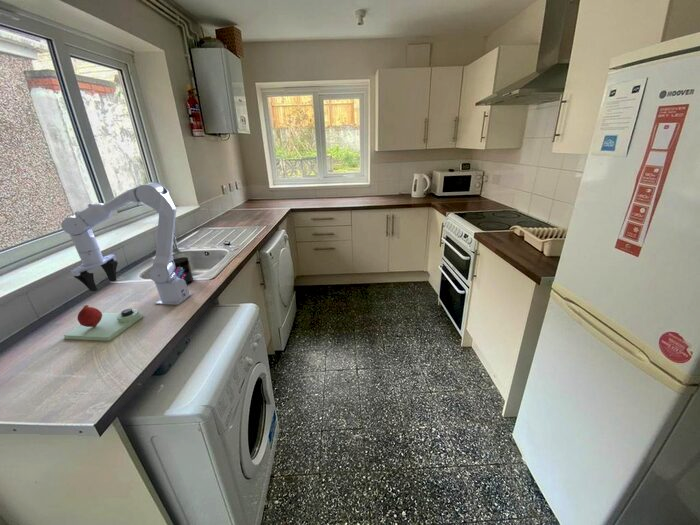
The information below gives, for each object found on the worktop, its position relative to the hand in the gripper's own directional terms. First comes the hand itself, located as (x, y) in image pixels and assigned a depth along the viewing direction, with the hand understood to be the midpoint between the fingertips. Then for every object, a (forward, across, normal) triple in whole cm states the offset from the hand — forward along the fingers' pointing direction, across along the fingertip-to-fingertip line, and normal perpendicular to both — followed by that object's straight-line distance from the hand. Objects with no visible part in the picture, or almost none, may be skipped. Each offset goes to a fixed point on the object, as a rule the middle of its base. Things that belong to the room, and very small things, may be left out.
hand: (103, 285), depth 103 cm
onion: (+9, +12, +6) cm, 16 cm away
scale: (+10, +11, +8) cm, 17 cm away
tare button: (+7, +7, +14) cm, 17 cm away
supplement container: (+10, -23, +13) cm, 28 cm away
